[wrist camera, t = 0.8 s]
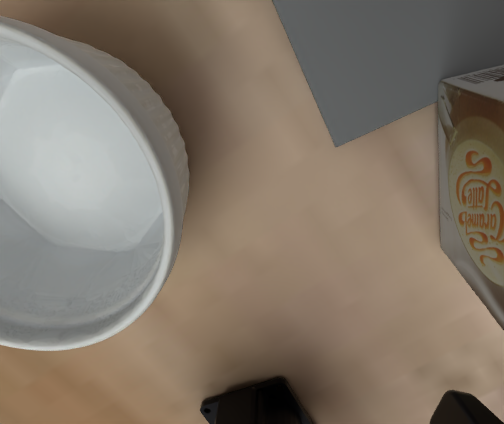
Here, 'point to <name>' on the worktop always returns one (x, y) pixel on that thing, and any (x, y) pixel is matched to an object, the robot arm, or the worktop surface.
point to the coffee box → (474, 181)
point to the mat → (387, 54)
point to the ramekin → (81, 191)
